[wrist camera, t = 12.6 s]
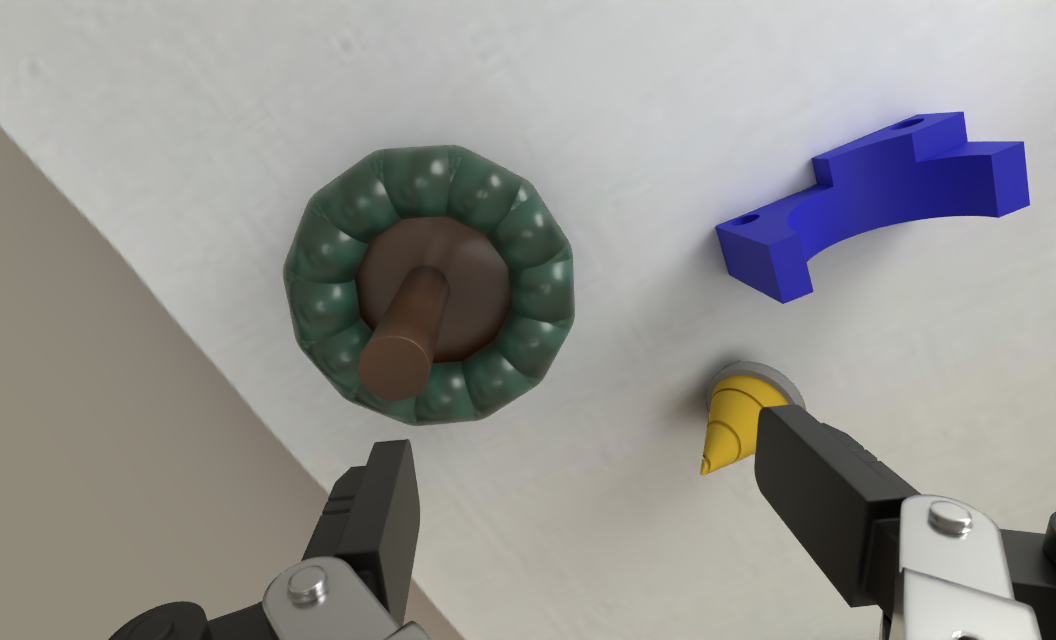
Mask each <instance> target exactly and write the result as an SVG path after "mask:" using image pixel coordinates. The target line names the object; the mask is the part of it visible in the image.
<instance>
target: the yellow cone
mask: <svg viewBox="0 0 1056 640" xmlns="http://www.w3.org/2000/svg"><path fill="white" fill-rule="evenodd" d="M706 404H707V408H708V411H709V419H708V426H707V433H706V439H705V446H704V452H703V457H704V458H705V459H702V466H701V473H700V474H701V475H706V474H708V473H710V472H713V471H715V470H717V469H720V468H722V467H724V466H727V465H729V464H731V463H734V462H736V461H738V460H741V459H743V458H746V457H748V456H750V455H753V454H755V452H756V439H757V426H758V416H759V412H760V410H761V409H762V408H763V407H769V406H780V405H791V404H797V405H799V406H801V407H802V408H803V409H804V410H806V408H805V404H804V400H803V398H802V396H801V394H800V392H799V391H798V389H797V388H796V387H795V385H794V384H793V383H792V382H791V381H790V380H789V379H788V378H787V377H786V376H784V375H783V374H782V373H780V372H779V371H777V370H775V369H773V368H771V367H769V366H766V365H763V364H760V363H755V362H741V361H739V362H738V363H733V364H731V365H729V366H726V367H725V368H724V369H722V370H721V371H720V372H719V373H718V374H717V375H716V376H715V378H714V379H713V380H712V381H711V383H710V384H709V386H708V389H707V393H706Z"/></svg>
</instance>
